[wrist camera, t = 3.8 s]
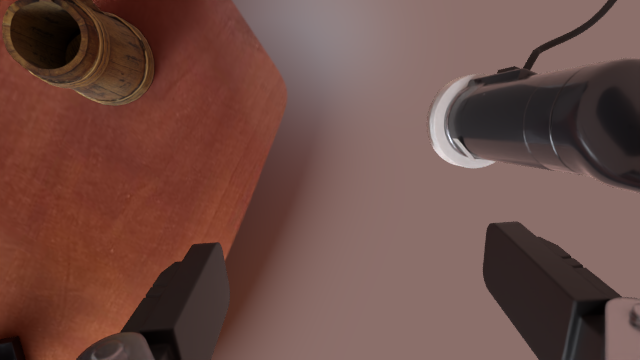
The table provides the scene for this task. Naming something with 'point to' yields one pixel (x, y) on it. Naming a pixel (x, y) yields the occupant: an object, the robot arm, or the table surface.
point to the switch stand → (11, 349)
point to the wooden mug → (79, 49)
